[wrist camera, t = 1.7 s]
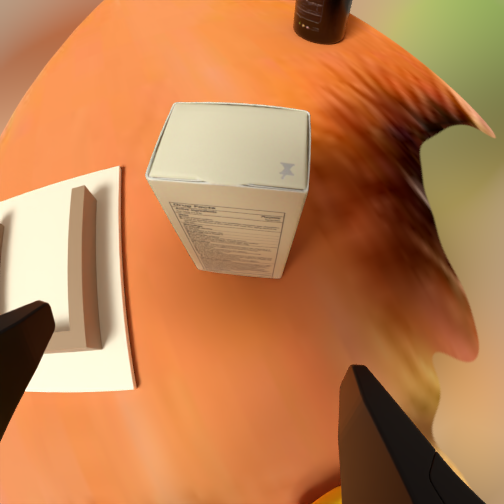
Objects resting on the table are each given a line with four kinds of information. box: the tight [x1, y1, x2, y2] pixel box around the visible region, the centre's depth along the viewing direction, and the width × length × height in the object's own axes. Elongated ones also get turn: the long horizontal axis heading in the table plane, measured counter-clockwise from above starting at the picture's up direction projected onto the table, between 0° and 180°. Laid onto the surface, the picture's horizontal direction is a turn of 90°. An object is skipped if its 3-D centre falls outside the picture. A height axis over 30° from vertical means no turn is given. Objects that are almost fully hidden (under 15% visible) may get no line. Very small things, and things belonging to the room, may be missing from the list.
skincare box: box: [145, 102, 311, 279], centre depth 17 cm, size 6×4×12 cm
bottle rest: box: [0, 166, 137, 392], centre depth 20 cm, size 18×16×3 cm
